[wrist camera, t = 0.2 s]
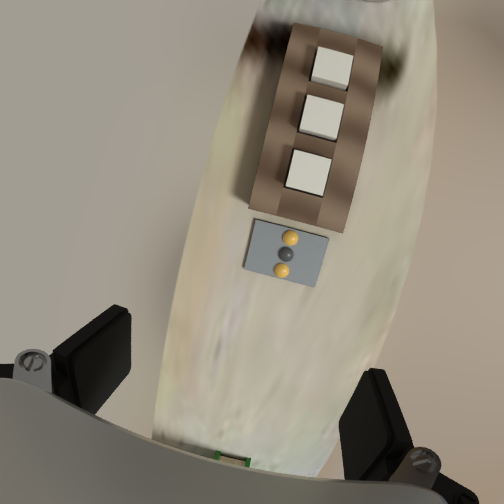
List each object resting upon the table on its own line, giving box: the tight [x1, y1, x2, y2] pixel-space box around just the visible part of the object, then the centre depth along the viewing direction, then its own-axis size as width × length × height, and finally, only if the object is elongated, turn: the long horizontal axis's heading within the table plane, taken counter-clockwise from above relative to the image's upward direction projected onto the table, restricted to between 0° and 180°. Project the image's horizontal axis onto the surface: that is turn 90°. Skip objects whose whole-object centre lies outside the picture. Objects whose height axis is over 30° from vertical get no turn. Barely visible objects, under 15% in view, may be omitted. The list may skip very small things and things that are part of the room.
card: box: [244, 219, 329, 287], centre depth 40 cm, size 7×10×1 cm
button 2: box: [286, 150, 332, 196], centre depth 34 cm, size 4×4×2 cm
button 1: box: [311, 46, 353, 90], centre depth 30 cm, size 4×4×2 cm
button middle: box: [299, 95, 344, 141], centre depth 32 cm, size 4×4×2 cm
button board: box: [248, 23, 383, 233], centre depth 34 cm, size 26×12×3 cm, turn 167°
